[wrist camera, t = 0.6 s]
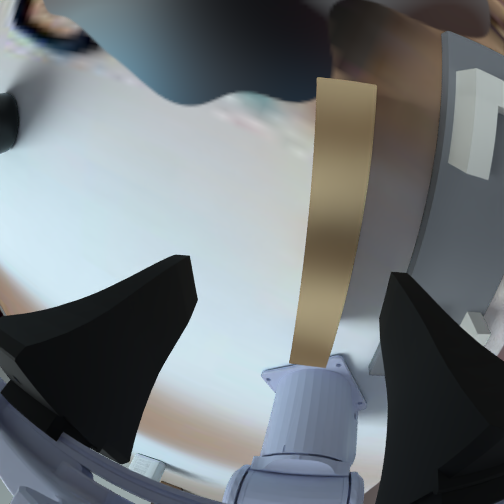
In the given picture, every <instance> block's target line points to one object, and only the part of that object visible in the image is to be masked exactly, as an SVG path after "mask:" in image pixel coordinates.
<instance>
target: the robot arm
mask: <svg viewBox="0 0 504 504" xmlns="http://www.w3.org/2000/svg"><path fill="white" fill-rule="evenodd" d="M197 301H198V298H197V293H196V288H195V282H194V277H193V271H192V266H191V260H190V256H186V255H173V256H170V257H168V258H166V259H164V260H162V261H160V262H158V263H156V264H154V265H152V266H150V267H148V268H146V269H144V270H142V271H140V272H138V273H136V274H135V275H133V276H131V277H129V278H127V279H125V280H123V281H121V282H119V283H116V284H114V285H112V286H110V287H108V288H106V289H104V290H102V291H99V292H97V293H95V294H92V295H90V296H87V297H85V298H82V299H79V300H76V301H73V302H70V303H67V304H64V305H60V306H57V307H54V308H50V309H46V310H41V311H36V312H31V313H25V314H17V315H10V316H2V317H1V318H0V367H1V368H2V369H3V371H4V372H5V373H6V374H7V376H8V377H9V378H10V379H11V380H10V381H9V382H8V383H7V384H6V383H5V382H4V381H3V379H1V377H0V478H1V479H2V481H3V483H4V484H5V485H6V487H7V488H8V490H9V491H10V493H11V494H12V495H13V499H12V500H11V502H10V504H135V503H133V502H131V501H129V500H127V499H125V498H123V497H121V496H119V495H118V494H116V493H114V492H112V491H111V490H109V489H107V488H105V487H104V486H102V485H100V484H99V483H97V482H95V481H94V480H93V475H92V472H93V473H94V474H96V475H98V476H99V477H101V478H103V479H105V480H106V481H108V482H110V483H112V484H114V485H116V486H118V487H119V488H121V489H123V490H125V491H127V492H129V493H131V494H134V495H136V496H138V497H140V498H142V499H144V500H147V501H149V502H151V503H154V504H363V499H364V481H363V478H362V477H361V476H360V475H359V474H358V472H350V467H351V465H352V464H353V462H354V459H355V456H356V444H357V424H358V410H363V409H365V408H366V407H367V404H366V402H365V400H364V398H363V396H362V394H361V392H360V390H359V388H358V386H357V384H356V382H355V380H354V378H353V376H352V374H351V372H350V370H349V368H348V367H347V365H346V363H345V361H344V359H343V357H342V356H340V355H335V356H332V357H329V360H328V363H327V366H326V368H320V367H312V366H305V365H298V364H297V365H292V366H287V367H282V368H277V369H272V370H266V371H263V372H262V373H261V377H262V378H263V379H264V380H265V382H266V383H267V384H268V385H269V386H270V387H271V389H272V390H273V391H274V392H275V393H276V395H275V399H274V403H273V408H272V412H271V416H270V420H269V424H268V427H267V431H266V435H265V439H264V443H263V446H262V450H261V454H260V456H254V457H253V461H252V464H251V465H243V466H242V467H241V468H240V469H238V470H237V471H235V472H234V474H233V475H232V476H231V478H230V480H229V482H228V484H227V487H226V490H225V493H224V496H223V500H222V502H218V501H215V500H211V499H207V498H204V497H201V496H197V495H194V494H191V493H188V492H185V491H182V490H179V489H176V488H173V487H171V486H168V485H165V484H163V483H160V482H158V481H155V480H153V479H150V478H148V477H145V476H143V475H141V474H139V473H136V472H134V471H132V470H130V469H128V468H126V467H123V466H122V465H120V464H125V463H127V462H129V461H130V457H131V452H132V448H133V444H134V441H135V437H136V433H137V430H138V427H139V423H140V420H141V417H142V414H143V411H144V409H145V406H146V403H147V401H148V398H149V395H150V393H151V390H152V388H153V386H154V383H155V381H156V379H157V376H158V374H159V372H160V370H161V368H162V366H163V365H164V363H165V361H166V360H167V358H168V356H169V354H170V353H171V351H172V349H173V348H174V346H175V344H176V343H177V341H178V339H179V338H180V336H181V334H182V333H183V331H184V329H185V328H186V326H187V324H188V322H189V320H190V318H191V316H192V313H193V311H194V308H195V306H196V303H197ZM379 323H380V344H381V351H382V358H383V365H384V372H385V380H386V388H387V399H388V420H387V437H386V448H385V456H384V463H383V470H382V476H381V481H380V486H379V490H378V495H377V499H376V503H375V504H504V361H502V360H501V359H500V358H498V357H497V356H496V355H494V354H493V353H491V352H490V351H489V350H488V349H486V348H485V347H484V346H482V345H481V344H480V343H479V342H478V341H477V340H475V339H474V338H473V337H472V336H471V335H469V334H468V333H467V332H466V331H465V330H464V329H463V328H462V327H461V326H460V325H459V324H457V323H456V322H455V321H454V320H453V319H452V318H451V317H450V316H449V315H448V314H447V313H446V312H445V311H444V310H443V309H442V308H441V307H440V306H439V305H438V304H437V303H436V301H435V300H434V299H433V298H432V297H431V296H430V295H429V294H428V293H427V292H426V291H425V290H424V289H423V288H422V287H421V286H420V285H419V284H418V283H417V282H416V281H415V280H414V279H413V278H412V277H411V276H410V275H409V274H408V273H400V272H391V275H390V279H389V283H388V287H387V291H386V295H385V299H384V303H383V307H382V310H381V314H380V317H379ZM90 448H91V449H90ZM92 449H93V450H94V451H93V450H92ZM95 451H96V452H95ZM97 452H98V453H97ZM99 453H100V454H102V455H104V456H106V457H108V458H109V459H108V458H106V457H104V456H102V455H100V454H99ZM110 459H111V460H110ZM112 460H113V461H115V462H117V463H115V462H113V461H112ZM118 463H119V464H118ZM90 471H91V472H90ZM349 472H350V473H349Z"/></svg>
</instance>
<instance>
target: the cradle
mask: <svg viewBox="0 0 504 504" xmlns="http://www.w3.org/2000/svg"><path fill="white" fill-rule="evenodd" d="M441 35H442V93H441V108H440V120H439V130H438V138H437V146H436V153H435V159H434V165H433V171H432V177H431V182H430V187H429V192H428V197H427V201H426V206H425V210H424V214H423V218H422V222H421V226H420V230H419V234H418V237H417V241H416V244H415V248H414V251H413V255H412V258H411V261H410V264H409V267H408V271H407V273H408V274H409V275H410V276H411V277H412V278H413V279H414V280H415V281H416V282H417V283H418V284H419V285H420V286H421V287H422V288H423V289H424V290H425V291H426V292H427V293H428V294H429V295H430V296H431V297H432V298H433V299H434V300H435V301H436V303H437V304H438V305H439V306H440V307H441V308H442V309H443V310H444V311H445V312H446V313H447V314H448V315H449V316H450V317H451V318H452V319H453V320H454V321H455V322H456V323H457V324H459V325H460V326H461V327H462V328H463V329H464V330H465V331H466V332H467V333H468V334H469V335H471V336H472V337H473V338H474V339H475V340H477V341H478V342H479V343H480V344H481V345H482V346H484V345H485V344H486V342H487V341H488V339H489V338H490V336H491V332H490V330H489V328H488V326H487V324H486V322H485V320H484V318H483V316H484V314H485V312H486V310H487V308H488V306H489V304H490V302H491V300H492V298H493V296H494V294H495V292H496V290H497V288H498V286H499V284H500V281H501V279H502V277H503V275H504V56H503V55H501V54H499V53H497V52H495V51H493V50H491V49H489V48H487V47H485V46H483V45H481V44H479V43H477V42H474V41H472V40H470V39H467V38H465V37H463V36H460V35H458V34H455V33H453V32H450V31H446V32H444V33H442V34H441ZM369 375H377V376H385V372H384V365H383V358H382V351H381V344H380V343H379V346H378V348H377V350H376V352H375V354H374V356H373V359H372V361H371V363H370V365H369Z"/></svg>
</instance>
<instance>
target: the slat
mask: <svg viewBox="0 0 504 504" xmlns="http://www.w3.org/2000/svg"><path fill="white" fill-rule="evenodd" d="M376 92H377V85H373V84H368V83H361V82H354V81H347V80H339V79H330V78H320V77H317V96H316V120H315V139H314V155H313V170H312V183H311V195H310V206H309V217H308V227H307V236H306V246H305V255H304V263H303V271H302V279H301V287H300V295H299V302H298V309H297V316H296V323H295V330H294V336H293V343H292V349H291V355H290V361H289V363H291V364H298V365H305V366H312V367H320V368H326V366H327V363H328V360H329V356H330V353H331V350H332V347H333V343H334V340H335V336H336V333H337V329H338V326H339V322H340V318H341V315H342V311H343V307H344V303H345V299H346V295H347V291H348V287H349V283H350V278H351V274H352V270H353V265H354V260H355V256H356V251H357V246H358V241H359V236H360V230H361V225H362V219H363V213H364V207H365V201H366V194H367V187H368V180H369V173H370V165H371V156H372V147H373V136H374V125H375V111H376Z"/></svg>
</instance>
